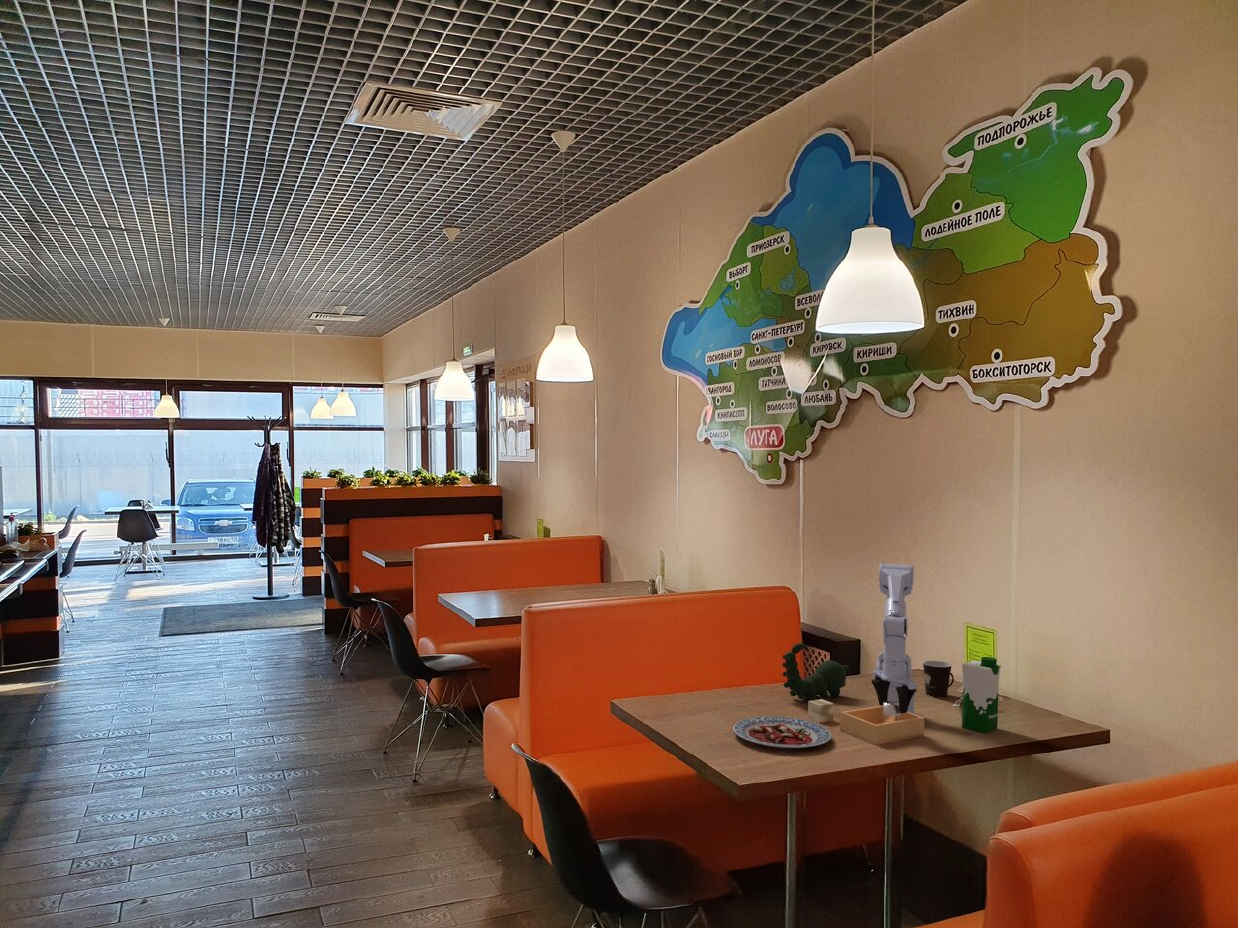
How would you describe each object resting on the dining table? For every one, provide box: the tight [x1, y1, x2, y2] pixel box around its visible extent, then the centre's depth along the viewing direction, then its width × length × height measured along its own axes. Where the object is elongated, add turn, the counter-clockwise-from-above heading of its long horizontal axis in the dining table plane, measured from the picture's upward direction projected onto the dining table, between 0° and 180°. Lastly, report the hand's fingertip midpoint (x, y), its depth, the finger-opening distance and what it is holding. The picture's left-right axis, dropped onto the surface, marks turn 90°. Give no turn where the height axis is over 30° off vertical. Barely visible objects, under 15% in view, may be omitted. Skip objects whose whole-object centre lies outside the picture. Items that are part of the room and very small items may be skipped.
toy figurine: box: [782, 642, 851, 701], centre depth 282 cm, size 9×19×25 cm
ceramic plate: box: [732, 716, 832, 750], centre depth 242 cm, size 26×26×3 cm
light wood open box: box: [839, 705, 925, 746], centre depth 248 cm, size 18×14×5 cm
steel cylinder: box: [882, 701, 902, 724], centre depth 250 cm, size 5×5×7 cm
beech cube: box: [807, 698, 834, 724], centre depth 260 cm, size 5×5×5 cm
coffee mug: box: [922, 660, 955, 698], centre depth 287 cm, size 12×9×10 cm
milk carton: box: [961, 656, 1002, 734], centre depth 254 cm, size 9×9×20 cm
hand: (893, 708), depth 250 cm, fingers open, 7 cm apart
